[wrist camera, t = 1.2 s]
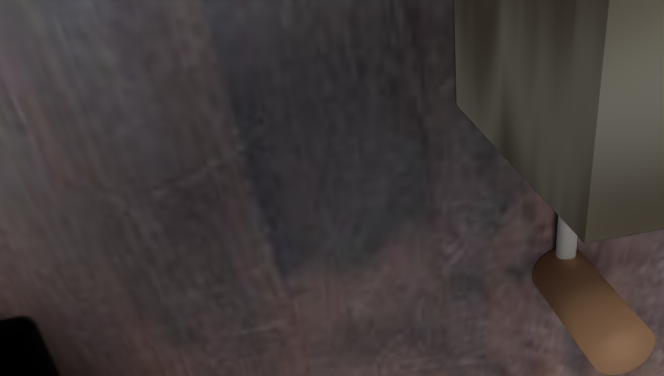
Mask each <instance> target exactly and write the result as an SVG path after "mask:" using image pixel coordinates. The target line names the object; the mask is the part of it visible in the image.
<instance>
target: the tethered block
mask: <svg viewBox="0 0 664 376" xmlns="http://www.w3.org/2000/svg"><path fill="white" fill-rule="evenodd" d="M577 238H578V236H577V235H576V234H575V233H574V232H573V231H572V230H571V229H570V228H569V226H568V225H567V224H566V223H565V222H564V221H563V220H562V219H561V218H560V217H559V216H558V226H557V240H556V249H554V250H552V251H550V252H548V253H546V254H545V255H544V256H543V257H541V258H540V260H539V261H538V262H537V263H536V265H535V267H534V270H533V275H532V276H533V282H534V284H535V285H536V287H537V288H538V290H539V291H540V292H541V294H542V295H543V297H544V298H545V299H546V301H547V302H548V304H549V305H550V306H551V308H552V309H553V310H554V312H555V313H556V315H557V316H558V317H559V319H560V320H561V322H562V323H563V324H564V326H565V327H566V329H567V330H568V331H569V333H570V334H571V336H572V337H573V338H574V340H575V341H576V343H577V344H578V345H579V347H580V348H581V350H582V351H583V352H584V354H585V355H586V357H587V358H588V359H589V361H590V362H591V364H592V365H593V366H594V368H595V369H596V370H597V371H598V372H600V373H603V374H606V375H618V374H623V373H626V372H629V371H631V370H633V369H635V368H637V367H638V366H640V365H641V364H642V363H643V362H644V361H645V360H646V359H647V358H648V357H649V356H650V354H651V353H652V351H653V349H654V345H655V337H654V334H653V332H652V331H651V330H650V329H649V328H648V327H647V326H646V324H645V323H644V322H643V321H642V320H641V319H640V318H639V317H638V315H637V314H636V313H635V312H634V311H633V310H632V309H631V308H630V307H629V305H628V304H627V303H626V302H625V301H624V300H623V299H622V298H621V297H620V295H619V294H618V293H617V292H616V291H615V290H614V289H613V288H612V286H611V285H610V284H609V283H608V282H607V281H606V280H605V279H604V278H603V276H602V275H601V274H600V273H599V272H598V271H597V270H596V269H595V268H594V266H593V265H592V264H591V263H590V262H589V261H588V260H587V259H586V258H585V256H584V255H583V254H582V253H581V252H580V251H579V250H577Z"/></svg>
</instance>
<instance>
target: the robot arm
mask: <svg viewBox="0 0 664 376" xmlns="http://www.w3.org/2000/svg"><path fill="white" fill-rule="evenodd" d="M16 331H22V332H23V333H24V334H21V333H18V332H16ZM0 376H58V374H57V372H56V370H55V368H54V366H53V364H52V362H51V360H50V357H49V355H48V353H47V351H46V349H45V347H44V345H43V343H42V341H41V339H40V337H39V335H38V332H37V330H36V328H35V326H34V325H33V324H32V323H31V322H30V321H28V320H25V319H14V320H8V321H3V322H0Z"/></svg>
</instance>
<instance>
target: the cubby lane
mask: <svg viewBox="0 0 664 376" xmlns="http://www.w3.org/2000/svg"><path fill="white" fill-rule="evenodd" d="M454 18H455V66H456V105H457V106H458V107H459V108H460V109H461V110H462V112H463V113H464V114H465V115H466V116H467V117H468V118H469V119H470V120H471V121H472V122H473V123H474V125H475V126H476V127H477V128H478V129H479V130H480V131H481V132H482V133H483V134H484V135H485V136H486V138H487V139H488V140H489V141H490V142H491V143H492V144H493V145H494V146H495V147H496V148H497V149H498V151H499V152H500V153H501V154H502V155H503V156H504V157H505V158H506V159H507V160H508V161H509V162H510V164H511V165H512V166H513V167H514V168H515V169H516V170H517V171H518V172H519V173H520V174H521V175H522V177H523V178H524V179H525V180H526V181H527V182H528V183H529V184H530V185H531V186H532V187H533V188H534V190H535V191H536V192H537V193H538V194H539V195H540V196H541V197H542V198H543V199H544V200H545V201H546V203H547V204H548V205H549V206H550V207H551V208H552V209H553V210H554V211H555V212H556V213H557V215H558V216H559V217H560V218H561V219H562V220H563V221H564V222H565V223H566V224H567V225H568V226H569V228H570V229H571V230H572V231H573V232H574V233H575V234H576V235H577V236H578V237H579V238H580V239H581V241H582V242H583V243H584V244H586V243H591V242H597V241H602V240H607V239H613V238H618V237H624V236H629V235H635V234H640V233H645V232H651V231H656V230H662V229H664V0H454Z"/></svg>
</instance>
